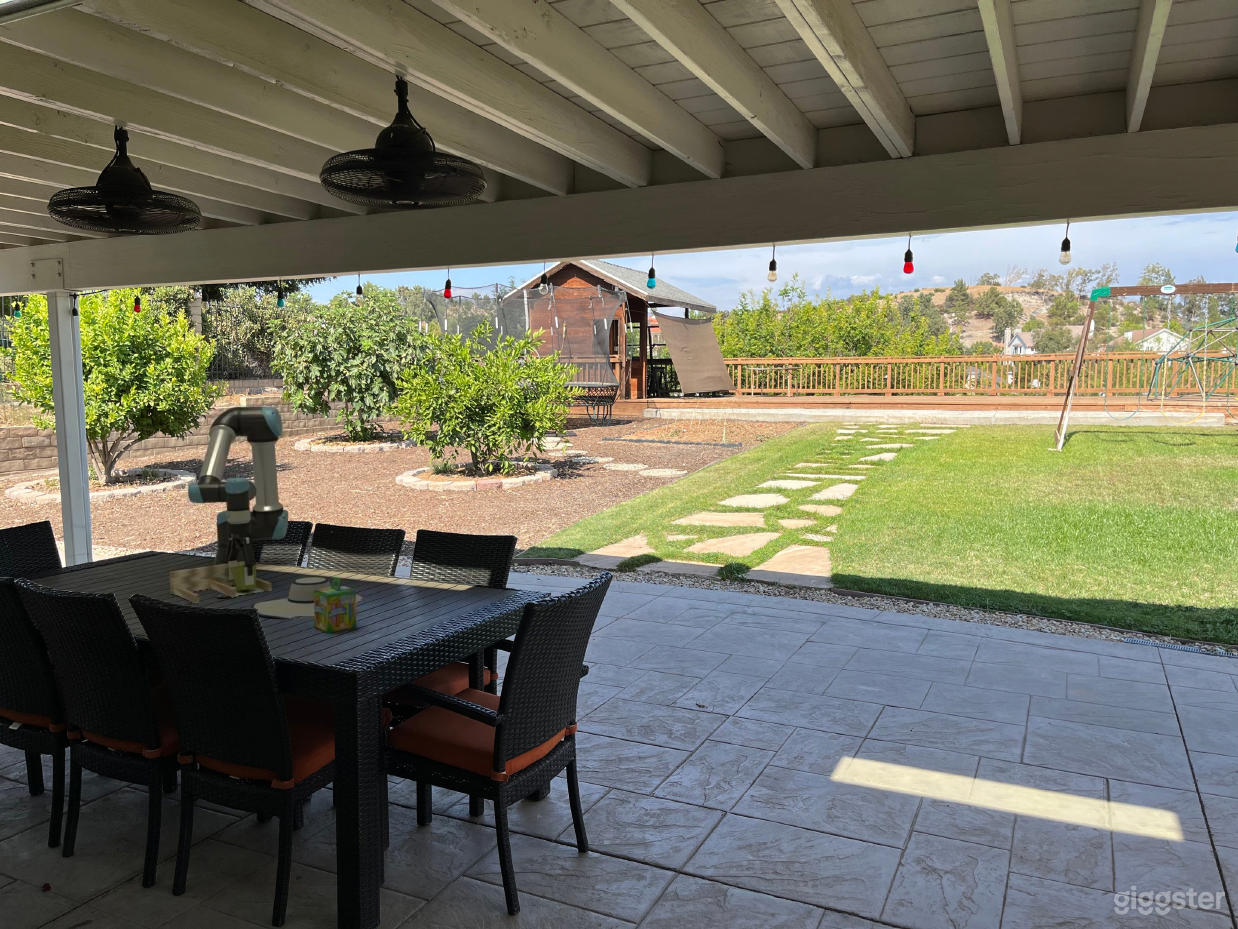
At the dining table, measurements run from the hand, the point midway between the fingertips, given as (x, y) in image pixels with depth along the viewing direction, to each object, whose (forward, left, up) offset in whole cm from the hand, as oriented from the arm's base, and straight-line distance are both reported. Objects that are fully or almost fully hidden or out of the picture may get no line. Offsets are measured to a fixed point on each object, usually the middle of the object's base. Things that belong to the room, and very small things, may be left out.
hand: (241, 582), depth 304 cm
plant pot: (0, +4, -2) cm, 4 cm away
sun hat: (-7, +38, -4) cm, 39 cm away
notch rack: (+6, -1, -3) cm, 7 cm away
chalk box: (+1, +70, -3) cm, 70 cm away
